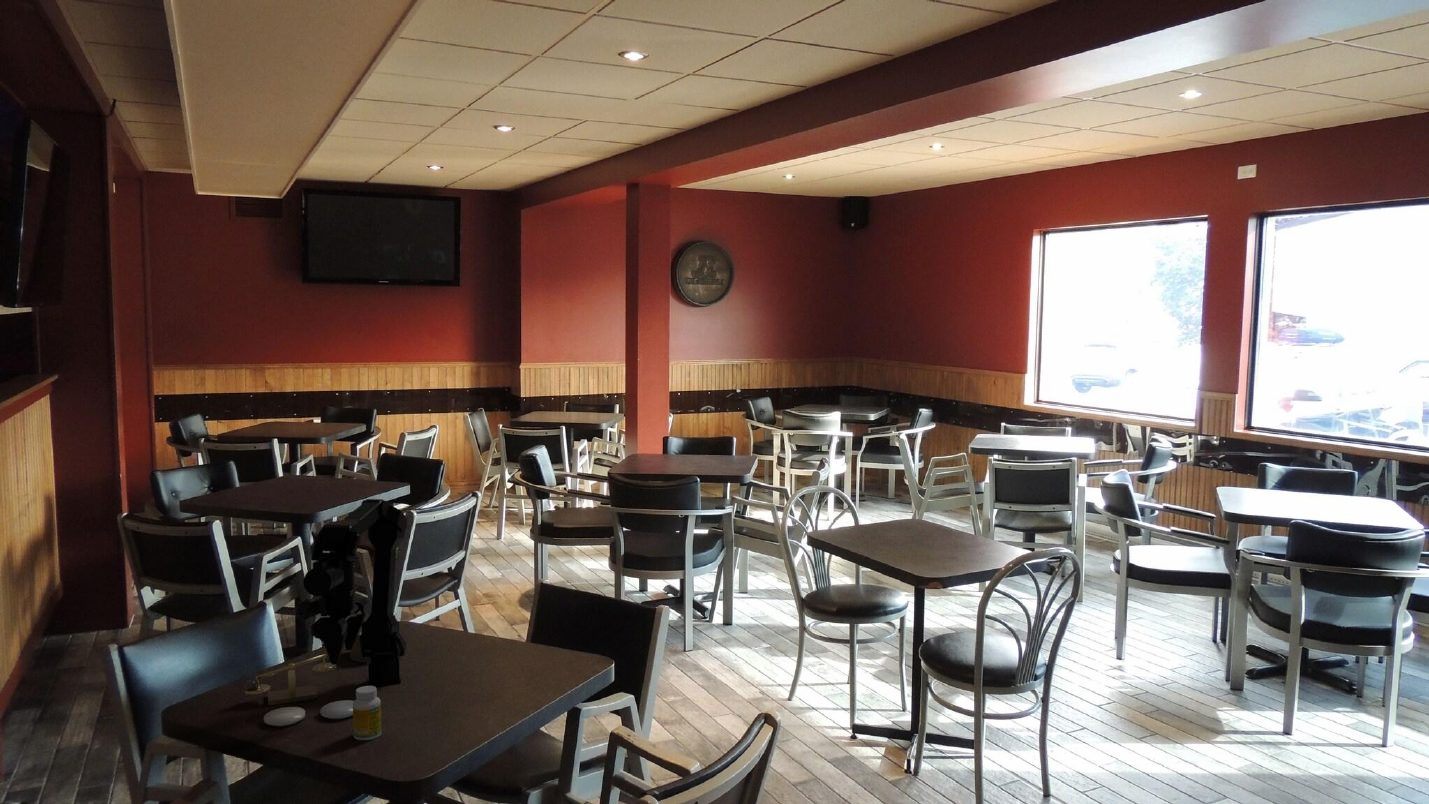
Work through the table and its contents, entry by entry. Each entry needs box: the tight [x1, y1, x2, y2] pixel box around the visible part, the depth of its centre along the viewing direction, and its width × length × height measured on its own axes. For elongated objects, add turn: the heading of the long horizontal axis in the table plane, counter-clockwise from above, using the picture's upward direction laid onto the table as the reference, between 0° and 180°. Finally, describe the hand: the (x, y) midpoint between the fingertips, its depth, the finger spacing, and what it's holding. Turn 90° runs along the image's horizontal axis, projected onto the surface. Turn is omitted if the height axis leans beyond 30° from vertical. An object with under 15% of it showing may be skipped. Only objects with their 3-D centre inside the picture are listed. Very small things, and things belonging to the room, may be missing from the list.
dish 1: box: [263, 706, 306, 727], centre depth 213 cm, size 8×8×1 cm
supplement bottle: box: [352, 685, 382, 741], centre depth 205 cm, size 5×5×10 cm
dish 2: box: [320, 699, 355, 720], centre depth 216 cm, size 8×8×1 cm
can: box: [349, 625, 370, 663], centre depth 253 cm, size 12×12×7 cm
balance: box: [244, 653, 337, 706], centre depth 225 cm, size 19×6×9 cm, turn 115°
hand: (341, 656), depth 213 cm, fingers open, 9 cm apart
